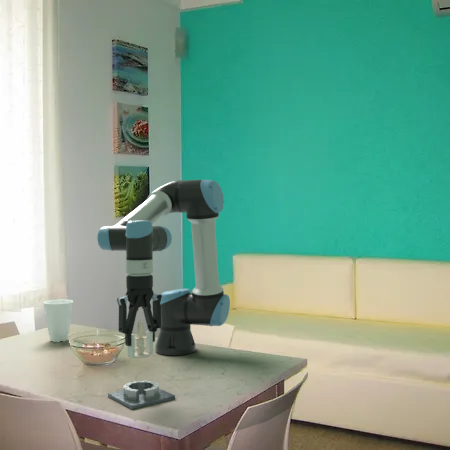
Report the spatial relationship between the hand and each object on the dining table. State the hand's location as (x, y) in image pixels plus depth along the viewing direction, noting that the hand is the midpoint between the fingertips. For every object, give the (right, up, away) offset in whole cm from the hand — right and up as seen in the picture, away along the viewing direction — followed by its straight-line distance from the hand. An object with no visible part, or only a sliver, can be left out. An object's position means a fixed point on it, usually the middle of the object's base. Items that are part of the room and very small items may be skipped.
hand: (140, 355), depth 172 cm
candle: (0, 0, 0) cm, 0 cm away
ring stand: (0, -12, +1) cm, 12 cm away
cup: (-44, -10, +75) cm, 88 cm away
